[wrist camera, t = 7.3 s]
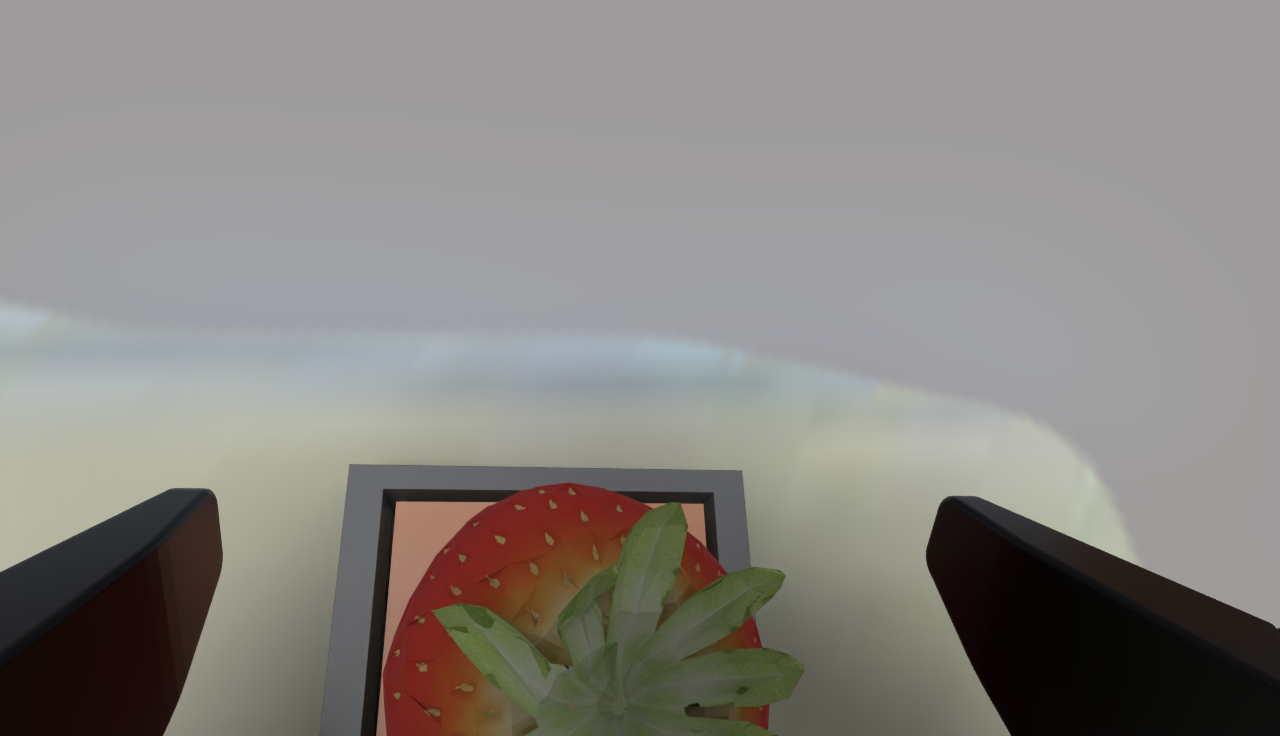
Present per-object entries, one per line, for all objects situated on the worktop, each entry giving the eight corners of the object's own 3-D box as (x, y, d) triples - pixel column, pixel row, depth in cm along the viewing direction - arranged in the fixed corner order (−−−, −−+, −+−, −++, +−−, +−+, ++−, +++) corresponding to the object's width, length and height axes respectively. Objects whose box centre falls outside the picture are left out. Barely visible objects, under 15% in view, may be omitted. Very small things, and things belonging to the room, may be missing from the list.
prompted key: (698, 828, 16) (726, 845, 14) (378, 853, 15) (364, 875, 13) (681, 522, 19) (703, 504, 17) (404, 521, 17) (396, 501, 16)
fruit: (509, 907, 13) (561, 1171, 6) (354, 639, 14) (238, 592, 7) (732, 714, 15) (972, 741, 8) (580, 490, 16) (669, 334, 9)
